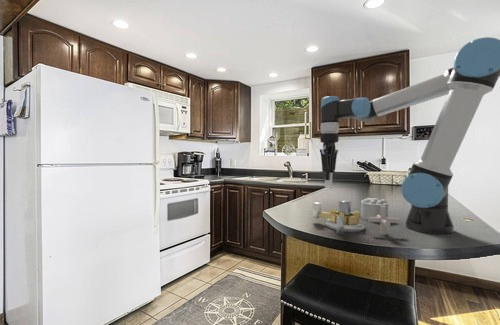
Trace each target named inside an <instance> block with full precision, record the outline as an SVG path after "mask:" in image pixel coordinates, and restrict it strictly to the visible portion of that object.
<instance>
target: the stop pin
mask: <svg viewBox="0 0 500 325" xmlns="http://www.w3.org/2000/svg"><path fill="white" fill-rule="evenodd" d="M335 231H336V233H335V235H337V236H344V217H337V219H336V230H335Z"/></svg>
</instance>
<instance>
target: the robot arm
mask: <svg viewBox="0 0 500 325" xmlns="http://www.w3.org/2000/svg"><path fill="white" fill-rule="evenodd" d="M499 78H500V39H499V38H496V37H489V36H488V37H487V36H486V37H480V38H475V39H473V40H470V41H469V42H467V43H465V44H464V45H463V46H462V47H461V48H460V49H459V50H458V51H457V52H456V55H455V56H454V59H453V67H452V68H448V69H446V71H445V72H444V73H442V74H440V75H437V76H435V77H432V78H429V79H426V80H424V81H422V82H417V83H416V84H412V85H409V86H407V87H405V88H403V89H399V90H397V91H394V92H391V93H388V94H386V95H382V96H381V97H378V98H375V99H372V100H369V98H368V97H356V98H350V99H342V100H340V97H338V96H336V95H331V96H330V95H329V96H324V97H322V99H321V102H320V127H319V128H320V138H319V139H320V141H319V142H320V143H323V145H322V148H320V149H319V153H320V159H321V170H322V173H323V174H324V188H328V189H332V188H333V174H334V173H336V167H337V166H336V165H337V156H338V152H339V150H338V149H336V143H339V139H340V137H339V136H340V135H339V134H338V133H339V131H340V123H339V122H340V119H341V120H342V119H355V120H358V121H360V122H363V123H366V122H367V123H368V122H371V121H373V120H374V119H375V118H379V117H381V116H384V115H387V114H390V113H393V112H397V111H400V110H404V109H405V108H410V107H412V106H416V105H418V104H421V103H425V102H428V101H430V100H434V99H438V98H441V97H444V96H446V99H445V101H444V103H443V106H442V108H441V110H440V112H439V114H438V117H437V119H436V121H435V124H434V127H433V129H432V132H431V133H430V136H429V138H428V141H427V143H426V146H425V148H424V150H423V153H422V155H421V158H420V159H419V160H418V161H414V162H413V164H412V166H411V167H410V171H409V172H408V175H407V176H406V177H405V178H404V180H403V181H402V183H401V187H400V188H401V189H400V190H401V194H402V197H403V198H404V200H405V201H406V202H408V203H409V204H410V208H409V211H408V213H407V216H406V219H405V227H406V228H408V229H411V230H413V231H418V232H422V233H426V234H435V235H437V234H438V235H448V234H453V233H454V229H455V228H454V224H453V221H452V218H451V215H450V212H449V185H450V183H451V180H452V178H453V176H454V174H453V172H452V170H451V167H452V165H453V162H454V160H455V158H456V156H457V154H458V152H459V149H460V148H461V145H462V143H463V141H464V139H465V137H466V134H467V132H468V129H469V127H470V126H471V123H472V121H473V119H474V117H475V115H476V113H477V110H478V108H479V106H480V104H481V101H482V99H483V97H484V96H485V95H487V94H488V93H490V92H492V91H493V90H494V88H495V86H496V84H497V82H498V79H499Z"/></svg>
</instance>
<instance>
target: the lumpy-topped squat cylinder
mask: <svg viewBox="0 0 500 325" xmlns="http://www.w3.org/2000/svg"><path fill="white" fill-rule="evenodd" d="M360 201H361V202H360V203H361V204H360V208H361V209H360V218H362V219H364V220H367V218H368V217H376V216H377V215H380V206H386V218H389V203H388V202H387V200H386V199H383V198H382V199H379V198H377V197H376V198H375V197H374V198H373V197H366V198H364V199H362V200H360Z"/></svg>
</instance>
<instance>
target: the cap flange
mask: <svg viewBox="0 0 500 325" xmlns="http://www.w3.org/2000/svg"><path fill="white" fill-rule="evenodd" d="M338 211H339V212H345V216H351V212H352V201H351V200H338ZM325 226H326V227H327V228H328V229H330V230H334V231H336V223H334V222H332V221H330V219H329V218H326V220H325ZM364 229H365V222H363V221H361V220H360V223H359V224H353V225H348V224H346V225H345V224H344V232H346V233H347V232H348V233H358V232H362V231H364Z"/></svg>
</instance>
